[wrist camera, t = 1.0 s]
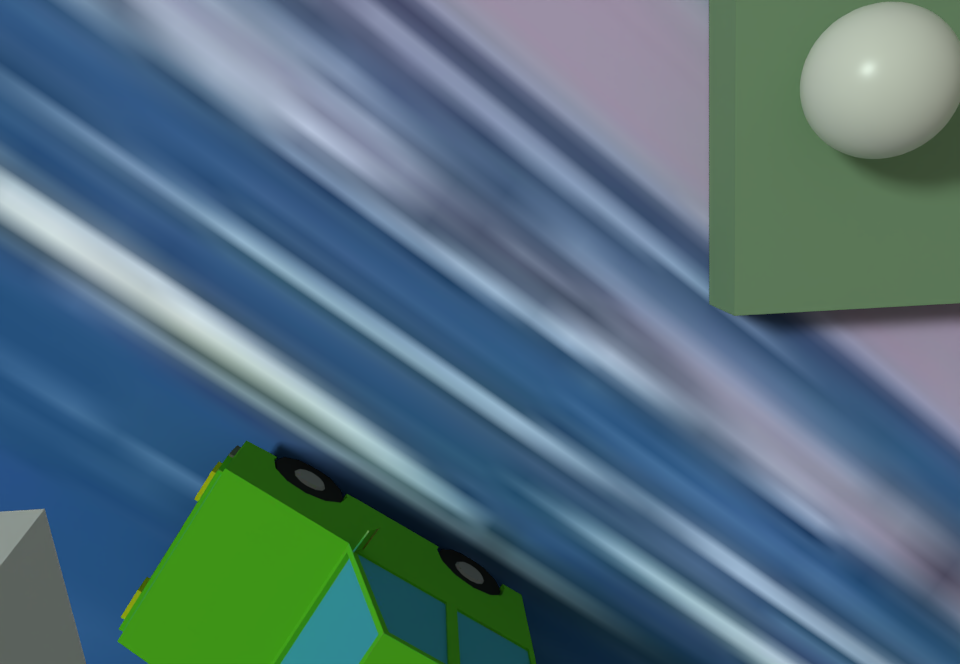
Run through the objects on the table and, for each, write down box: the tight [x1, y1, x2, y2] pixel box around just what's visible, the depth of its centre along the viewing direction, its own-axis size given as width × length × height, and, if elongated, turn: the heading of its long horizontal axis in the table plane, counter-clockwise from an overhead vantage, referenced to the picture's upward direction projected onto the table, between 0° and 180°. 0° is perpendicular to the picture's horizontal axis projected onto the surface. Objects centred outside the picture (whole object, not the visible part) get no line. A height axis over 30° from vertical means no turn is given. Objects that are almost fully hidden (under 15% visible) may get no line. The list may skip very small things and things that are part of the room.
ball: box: [800, 2, 960, 159], centre depth 29 cm, size 5×5×5 cm
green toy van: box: [118, 441, 536, 664], centre depth 32 cm, size 10×13×10 cm
